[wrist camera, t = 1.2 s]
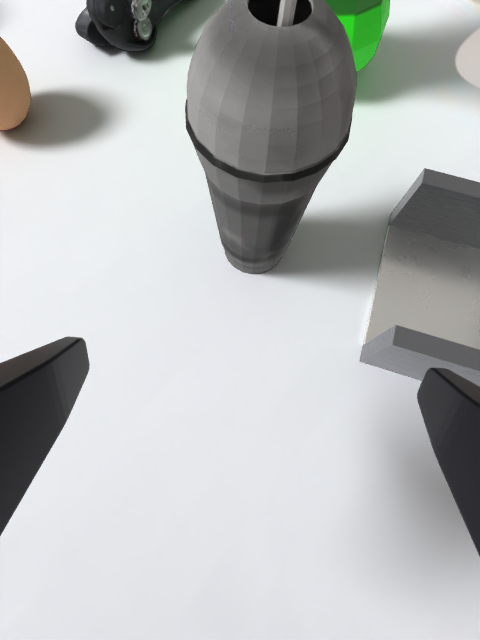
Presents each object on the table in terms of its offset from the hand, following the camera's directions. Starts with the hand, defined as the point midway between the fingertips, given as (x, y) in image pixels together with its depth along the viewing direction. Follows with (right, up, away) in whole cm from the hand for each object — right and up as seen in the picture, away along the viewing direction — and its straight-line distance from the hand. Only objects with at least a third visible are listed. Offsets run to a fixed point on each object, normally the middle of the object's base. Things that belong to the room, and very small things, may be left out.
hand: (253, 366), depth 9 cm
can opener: (-8, +32, +25) cm, 41 cm away
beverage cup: (+1, +7, +17) cm, 18 cm away
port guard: (+15, +2, +16) cm, 22 cm away
